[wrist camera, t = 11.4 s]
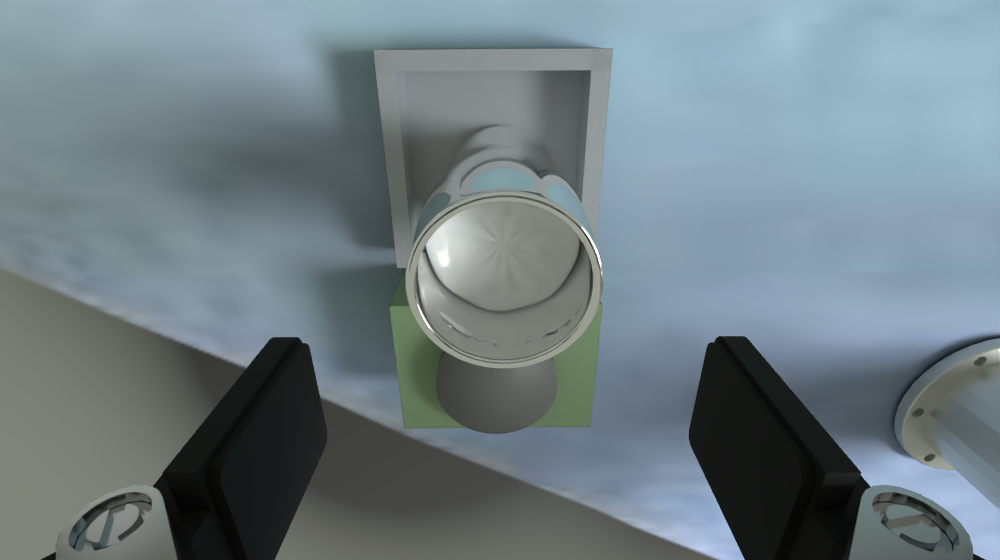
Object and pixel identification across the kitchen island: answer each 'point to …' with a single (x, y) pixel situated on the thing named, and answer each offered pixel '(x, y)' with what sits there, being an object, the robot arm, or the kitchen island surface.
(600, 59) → the push button box
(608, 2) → the kitchen island surface
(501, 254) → the beer glass
